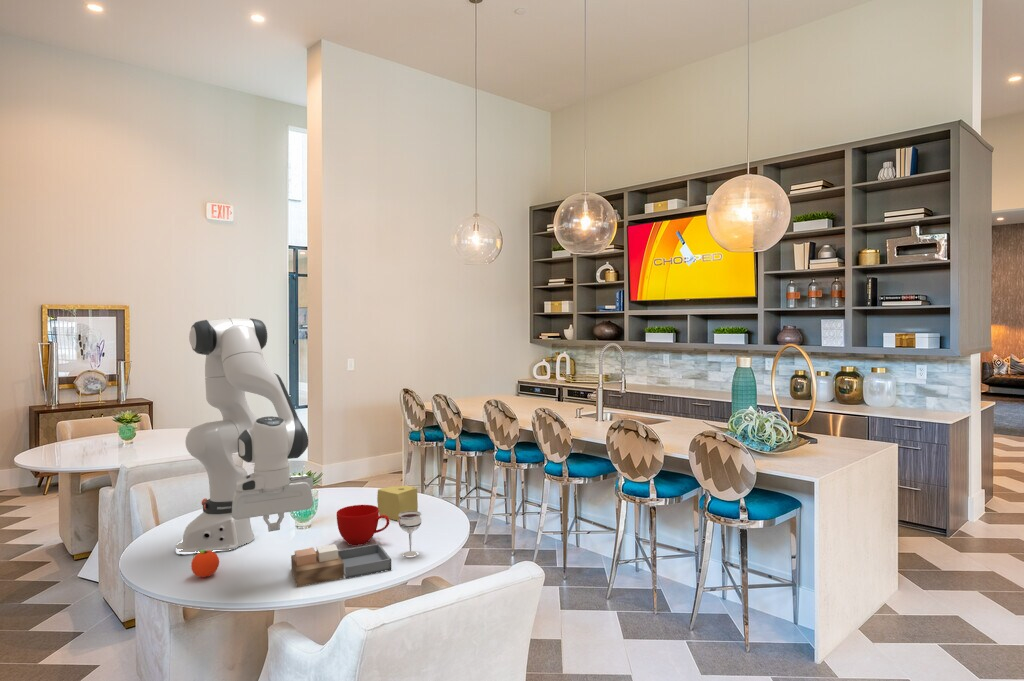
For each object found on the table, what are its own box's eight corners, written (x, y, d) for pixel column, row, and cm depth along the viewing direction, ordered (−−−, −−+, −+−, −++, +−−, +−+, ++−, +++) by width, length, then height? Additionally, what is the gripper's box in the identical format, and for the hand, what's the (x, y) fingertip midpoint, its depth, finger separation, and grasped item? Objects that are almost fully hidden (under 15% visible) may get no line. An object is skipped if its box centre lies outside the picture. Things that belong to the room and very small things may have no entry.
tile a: (319, 562, 166) (319, 553, 166) (316, 556, 171) (316, 547, 171) (338, 558, 168) (338, 549, 168) (335, 553, 173) (334, 544, 173)
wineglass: (402, 549, 186) (401, 510, 185) (424, 550, 185) (423, 510, 185) (396, 558, 179) (395, 517, 179) (418, 558, 178) (418, 517, 178)
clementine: (182, 579, 166) (181, 553, 166) (203, 569, 173) (202, 544, 172) (204, 583, 163) (204, 556, 163) (225, 573, 170) (224, 547, 170)
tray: (346, 578, 165) (345, 567, 165) (336, 560, 178) (336, 550, 177) (391, 569, 170) (391, 559, 170) (379, 553, 183) (379, 543, 183)
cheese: (398, 509, 227) (398, 483, 227) (419, 514, 221) (419, 487, 221) (377, 517, 219) (376, 489, 219) (398, 522, 213) (397, 493, 213)
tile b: (296, 566, 164) (296, 556, 164) (294, 559, 168) (294, 550, 168) (316, 562, 166) (316, 553, 166) (313, 556, 170) (313, 547, 170)
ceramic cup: (381, 551, 185) (380, 518, 185) (329, 548, 188) (328, 515, 188) (397, 536, 198) (396, 506, 197) (348, 534, 201) (348, 503, 201)
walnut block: (297, 586, 160) (296, 571, 160) (291, 569, 172) (291, 555, 172) (343, 578, 165) (343, 563, 165) (335, 561, 177) (335, 548, 177)
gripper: (311, 471, 170) (313, 520, 170) (230, 481, 161) (232, 533, 162) (314, 475, 165) (316, 526, 165) (230, 486, 156) (232, 540, 156)
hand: (274, 530), depth 163 cm, fingers closed
